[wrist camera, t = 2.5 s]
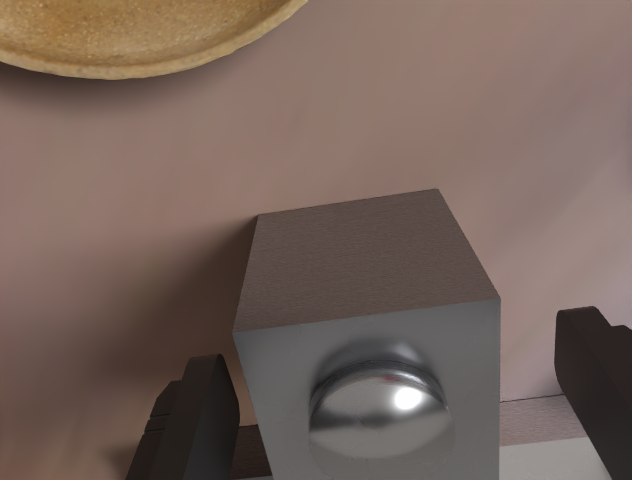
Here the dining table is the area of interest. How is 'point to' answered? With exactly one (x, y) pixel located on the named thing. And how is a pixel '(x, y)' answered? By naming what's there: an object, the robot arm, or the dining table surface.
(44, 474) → the dining table surface
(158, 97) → the dining table surface
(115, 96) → the dining table surface
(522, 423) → the ratchet
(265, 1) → the plant saucer
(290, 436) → the socket
